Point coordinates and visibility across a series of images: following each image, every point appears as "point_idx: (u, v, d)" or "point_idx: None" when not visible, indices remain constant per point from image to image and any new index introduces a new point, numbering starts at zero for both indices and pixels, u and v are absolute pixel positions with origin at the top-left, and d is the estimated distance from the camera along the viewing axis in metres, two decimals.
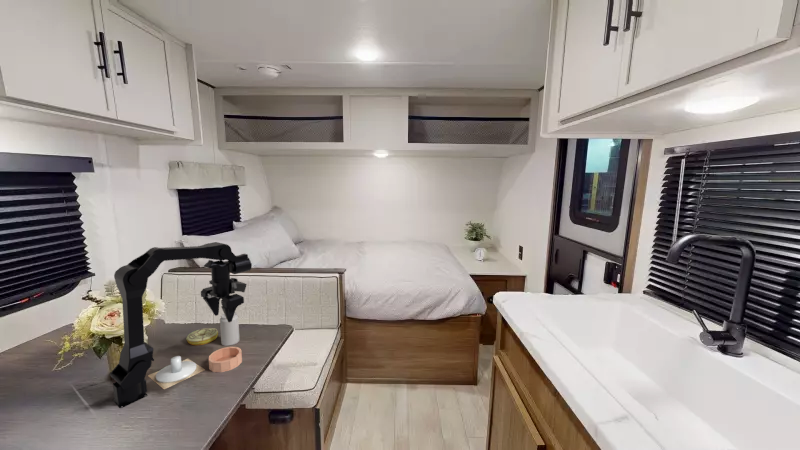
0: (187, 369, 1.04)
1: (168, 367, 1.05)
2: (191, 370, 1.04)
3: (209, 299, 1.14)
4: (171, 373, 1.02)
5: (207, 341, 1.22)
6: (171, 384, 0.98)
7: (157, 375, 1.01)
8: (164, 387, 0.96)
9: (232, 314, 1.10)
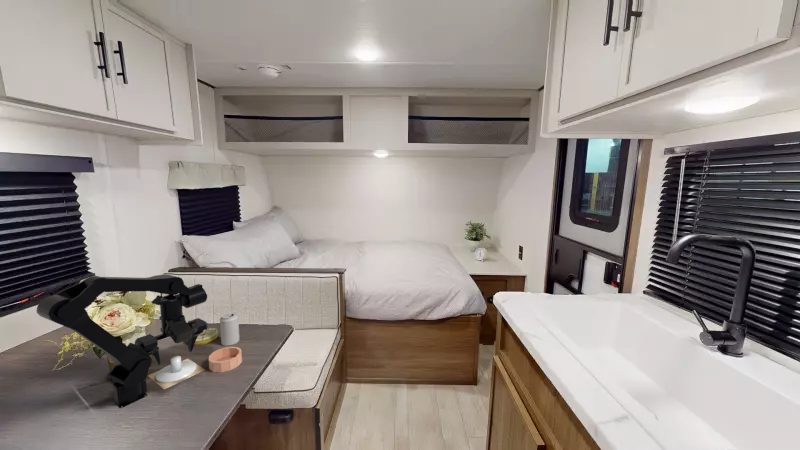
0: (187, 369, 1.04)
1: (168, 367, 1.05)
2: (191, 370, 1.04)
3: None
4: (171, 373, 1.02)
5: (207, 341, 1.22)
6: (171, 384, 0.98)
7: (157, 375, 1.01)
8: (164, 387, 0.96)
9: (154, 358, 0.97)
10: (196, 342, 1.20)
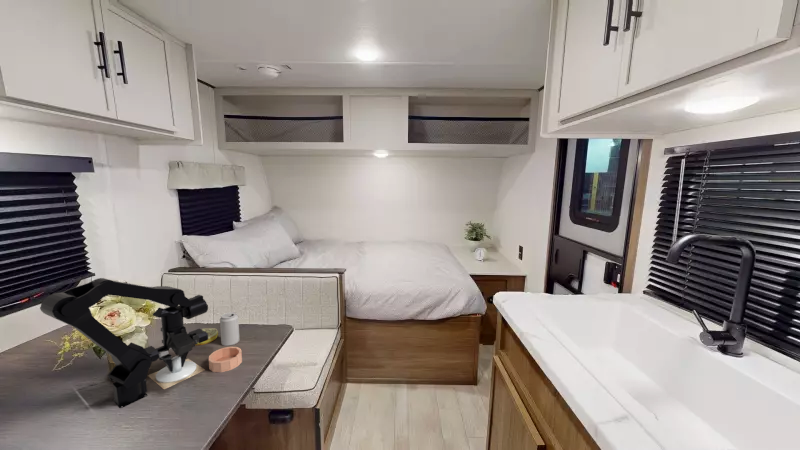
0: (187, 369, 1.04)
1: None
2: (191, 370, 1.04)
3: None
4: (171, 373, 1.02)
5: (207, 341, 1.22)
6: (171, 384, 0.98)
7: (157, 375, 1.01)
8: (164, 387, 0.96)
9: (167, 365, 1.01)
10: None
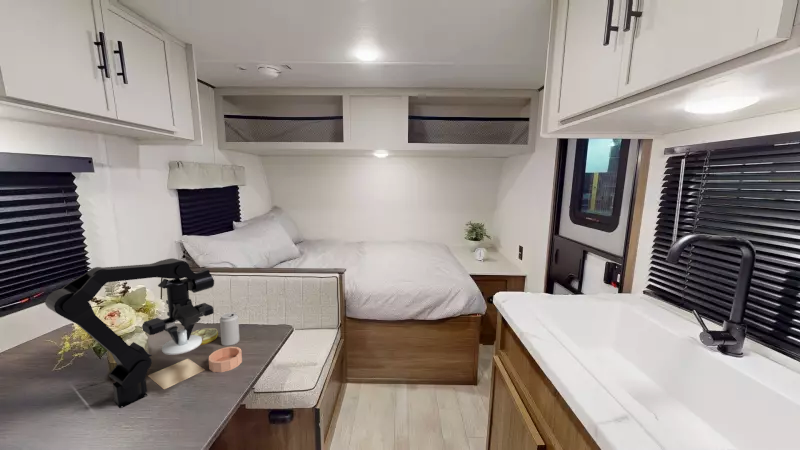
0: (193, 342, 1.04)
1: (173, 340, 1.05)
2: (197, 343, 1.04)
3: None
4: (177, 346, 1.02)
5: (207, 341, 1.22)
6: (171, 384, 0.98)
7: (163, 347, 1.00)
8: (164, 387, 0.96)
9: (173, 337, 1.00)
10: None
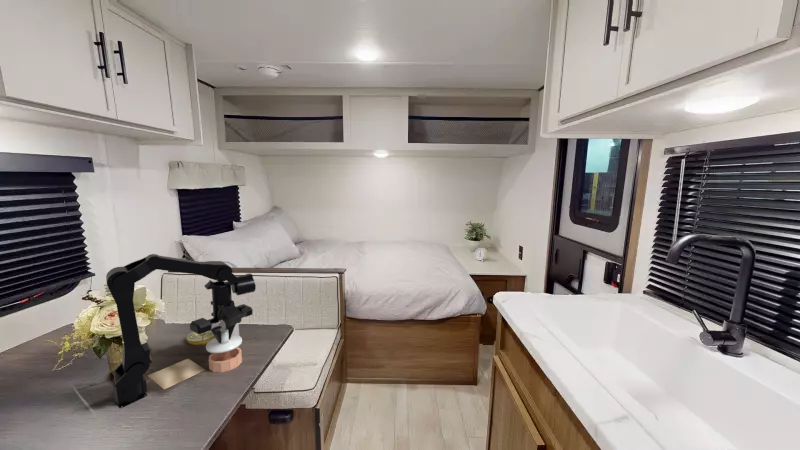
0: (234, 341, 1.09)
1: (215, 339, 1.10)
2: (238, 342, 1.09)
3: None
4: (219, 345, 1.07)
5: (207, 341, 1.22)
6: (171, 384, 0.98)
7: (207, 346, 1.06)
8: (164, 387, 0.96)
9: (217, 336, 1.06)
10: (196, 342, 1.20)
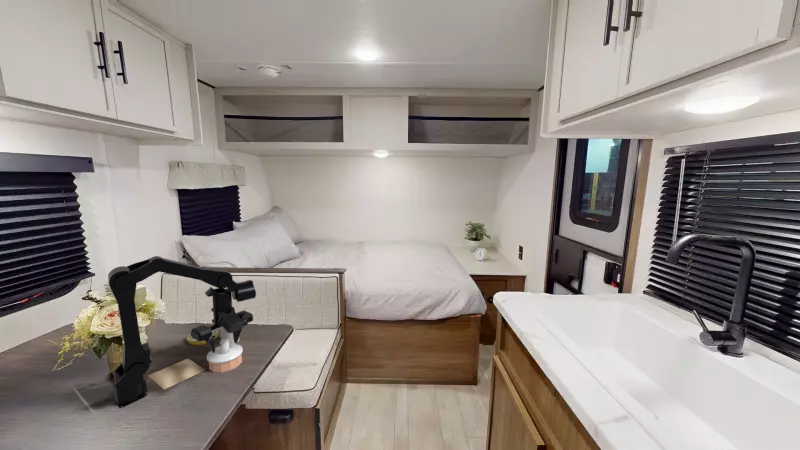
0: (234, 351, 1.10)
1: (216, 349, 1.11)
2: (238, 352, 1.09)
3: None
4: (220, 355, 1.07)
5: None
6: (171, 384, 0.98)
7: (208, 356, 1.06)
8: (164, 387, 0.96)
9: (210, 346, 1.04)
10: (196, 342, 1.20)
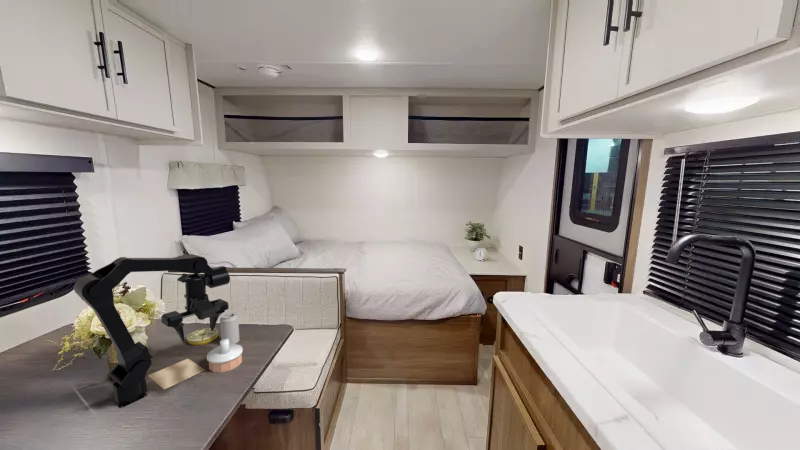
0: (234, 351, 1.10)
1: (216, 349, 1.11)
2: (238, 352, 1.09)
3: None
4: (220, 355, 1.07)
5: (207, 341, 1.22)
6: (171, 384, 0.98)
7: (208, 356, 1.06)
8: (164, 387, 0.96)
9: (179, 333, 1.01)
10: (196, 342, 1.20)
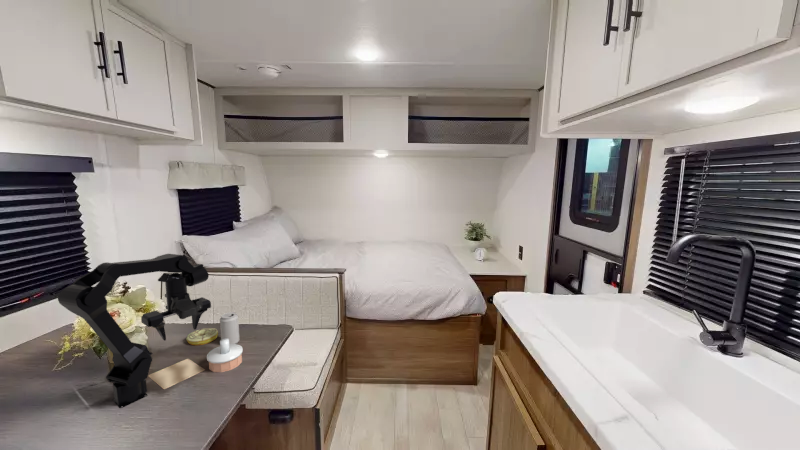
0: (234, 351, 1.10)
1: (216, 349, 1.11)
2: (238, 352, 1.09)
3: None
4: (220, 355, 1.07)
5: (207, 341, 1.22)
6: (171, 384, 0.98)
7: (208, 356, 1.06)
8: (164, 387, 0.96)
9: (160, 333, 1.01)
10: (196, 342, 1.20)
